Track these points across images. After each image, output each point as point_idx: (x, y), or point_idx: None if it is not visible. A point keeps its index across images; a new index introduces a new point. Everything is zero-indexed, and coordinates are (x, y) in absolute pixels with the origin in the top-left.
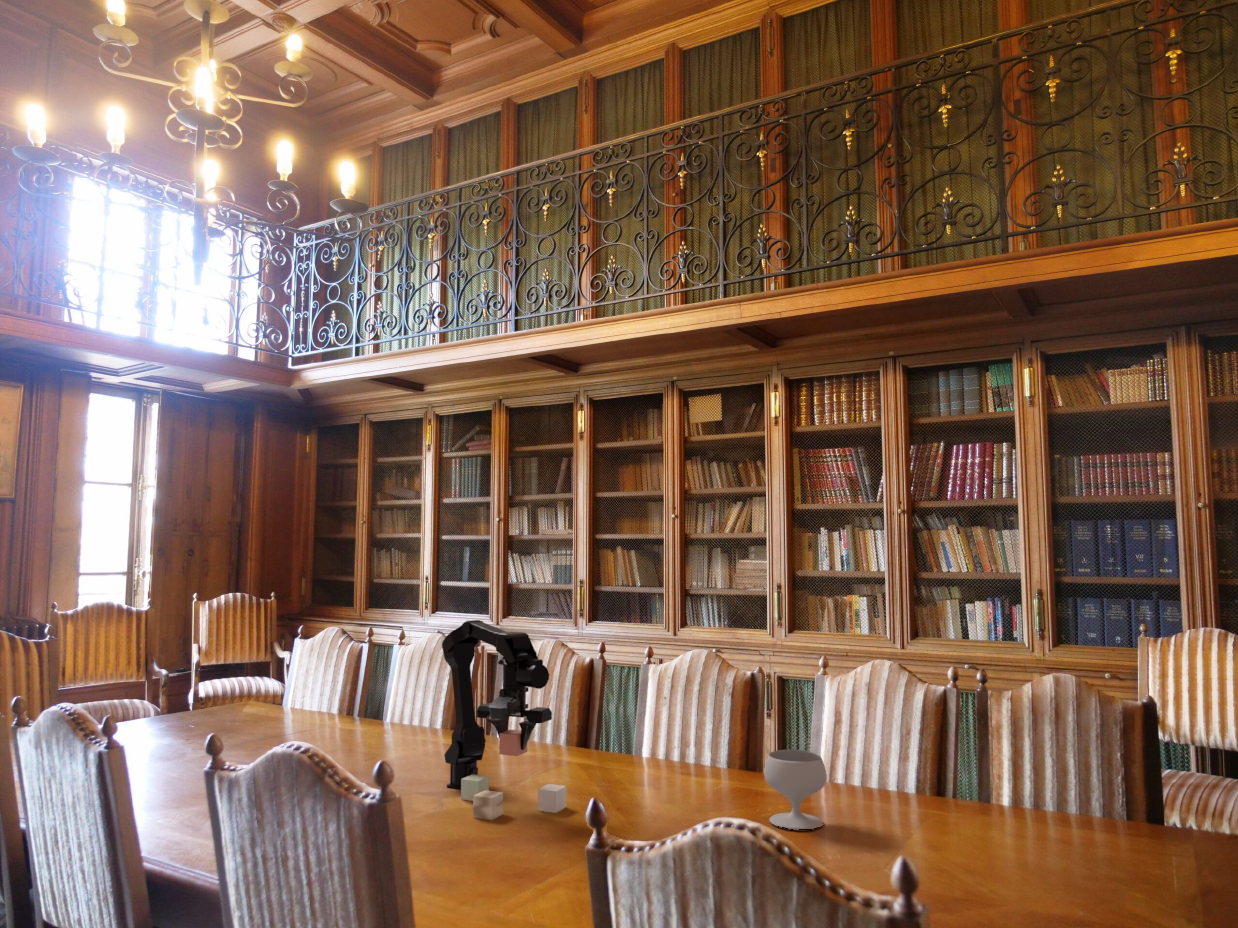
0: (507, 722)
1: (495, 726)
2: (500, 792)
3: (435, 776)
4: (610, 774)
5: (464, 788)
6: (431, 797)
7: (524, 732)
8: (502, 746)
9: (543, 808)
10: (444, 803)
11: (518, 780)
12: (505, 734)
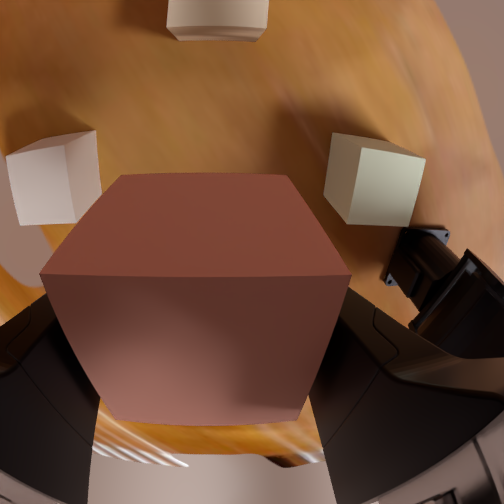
0: (334, 465)
1: (447, 357)
2: (179, 24)
3: None
4: None
5: (396, 147)
6: (456, 139)
7: (2, 335)
8: (266, 195)
9: (74, 134)
10: (413, 91)
11: None
12: (240, 268)
